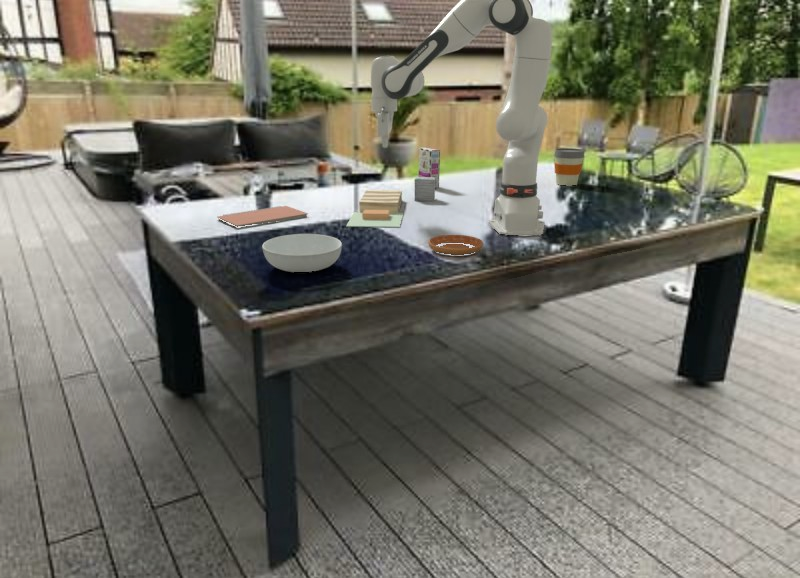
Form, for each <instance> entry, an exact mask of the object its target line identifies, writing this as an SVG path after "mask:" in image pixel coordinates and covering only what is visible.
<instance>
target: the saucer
mask: <svg viewBox="0 0 800 578" xmlns="http://www.w3.org/2000/svg"><path fill="white" fill-rule="evenodd" d="M441 243H464V244H470V245H473V246H475V247H472V248H469V246H466V245H463V244H446V245H443V246H440V247H439V246H436V245H438V244H441ZM428 247H429V248H430V249H431V250H433V252H435V251H436V252H439V253H444V254H451V255H464V254H471V253H474V252H476V253H478V252H479V251H480V250H481V249H482V248H483V247H484V241H483V240H482V239H481V238H479V237H475V236H470V235H467V234H465V235H464V234H443V235H437V236H433V237H431V238H430V239H428ZM436 252H435V253H436Z"/></svg>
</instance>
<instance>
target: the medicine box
mask: <svg viewBox="0 0 800 578" xmlns="http://www.w3.org/2000/svg"><path fill="white" fill-rule="evenodd" d="M435 199H436V189H435V178H434V177H419V176H417V177H415V178H414V201H418V202H419V201H420V202H421V201H423V202H424V201H429V202H434V201H435Z"/></svg>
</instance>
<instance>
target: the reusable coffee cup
mask: <svg viewBox="0 0 800 578" xmlns="http://www.w3.org/2000/svg"><path fill="white" fill-rule="evenodd" d="M584 157H585V151H584V149H581V148H572V147H571V148H569V147H568V148H567V147H565V148H561V147H560V148H556V149H555V150H554V161H555V162H553V163H554V164H553V165H554V174H555V183H556V185H557V184H559V185H558V186H560V185H566V186H565V187H573V186H572V185H576V186H577V185H578V181H579V177H580V175H581V172H582V168H583V159H584Z"/></svg>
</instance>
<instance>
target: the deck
mask: <svg viewBox="0 0 800 578" xmlns="http://www.w3.org/2000/svg"><path fill="white" fill-rule="evenodd" d="M402 192H403V191H402V190H396V189H395V190H394V189H393V190H391V189H389V190H385V189H384V190H383V189H382V190H380V189H375V190H374V189H372V190H371V189H367V190H366V189H365V192H364V194H363V196H362V197H361V198H360V200H359V206H358V207H359V211H358V212H363V211H364V210H390V213H399V212H398V211H400V208H401V204H402V201H403V193H402Z"/></svg>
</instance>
